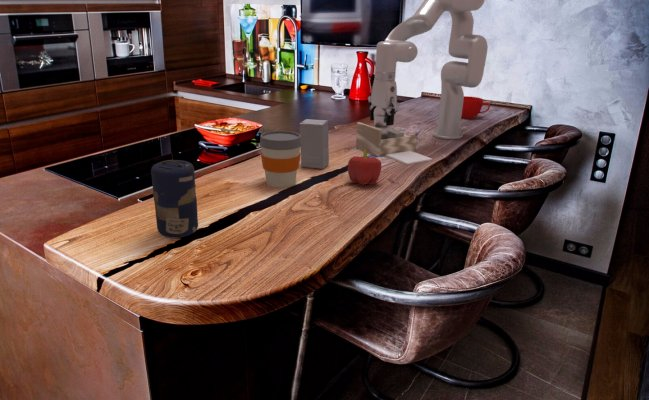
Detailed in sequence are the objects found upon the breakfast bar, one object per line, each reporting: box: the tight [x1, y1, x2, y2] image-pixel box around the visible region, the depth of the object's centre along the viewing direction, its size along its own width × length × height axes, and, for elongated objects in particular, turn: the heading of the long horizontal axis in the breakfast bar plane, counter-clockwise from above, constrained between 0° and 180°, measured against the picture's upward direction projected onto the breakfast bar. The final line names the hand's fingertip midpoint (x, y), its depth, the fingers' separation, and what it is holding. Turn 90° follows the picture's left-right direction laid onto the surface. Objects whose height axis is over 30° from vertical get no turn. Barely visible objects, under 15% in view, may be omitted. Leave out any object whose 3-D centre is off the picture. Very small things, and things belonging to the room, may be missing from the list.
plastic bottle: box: [373, 106, 391, 140], centre depth 188 cm, size 6×7×20 cm
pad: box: [385, 151, 433, 166], centre depth 182 cm, size 12×12×1 cm
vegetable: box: [347, 149, 382, 185], centre depth 153 cm, size 11×10×10 cm
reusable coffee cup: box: [259, 130, 302, 189], centre depth 150 cm, size 13×13×15 cm
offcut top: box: [388, 128, 405, 138], centre depth 192 cm, size 4×8×2 cm, turn 31°
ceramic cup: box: [461, 95, 491, 120], centre depth 250 cm, size 13×17×10 cm
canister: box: [150, 159, 199, 239], centre depth 115 cm, size 10×10×18 cm
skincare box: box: [299, 118, 330, 170], centre depth 167 cm, size 8×7×16 cm
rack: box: [355, 121, 418, 158], centre depth 191 cm, size 19×14×10 cm
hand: (381, 122), depth 187 cm, fingers open, 9 cm apart
